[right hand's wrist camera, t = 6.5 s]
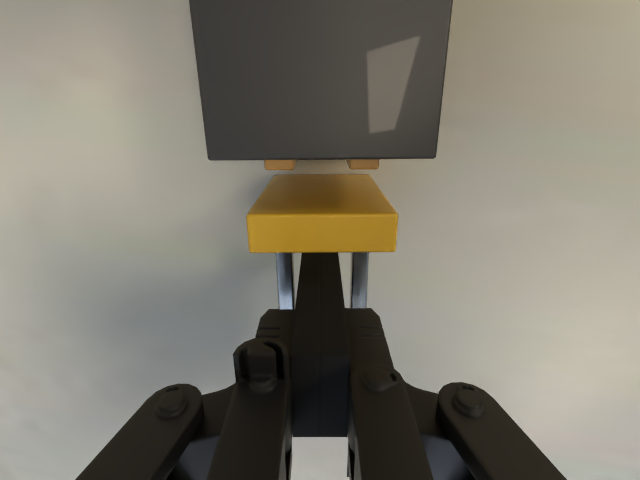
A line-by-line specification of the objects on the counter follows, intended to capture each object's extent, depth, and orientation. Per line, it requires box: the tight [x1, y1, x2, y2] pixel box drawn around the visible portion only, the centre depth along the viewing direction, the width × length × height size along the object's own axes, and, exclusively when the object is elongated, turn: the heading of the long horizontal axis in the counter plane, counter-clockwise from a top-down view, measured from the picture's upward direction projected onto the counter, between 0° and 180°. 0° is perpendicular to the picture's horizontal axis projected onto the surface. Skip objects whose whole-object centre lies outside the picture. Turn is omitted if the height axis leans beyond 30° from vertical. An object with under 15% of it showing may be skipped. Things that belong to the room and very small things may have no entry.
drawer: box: [246, 159, 398, 309], centre depth 12 cm, size 20×4×6 cm, turn 0°
